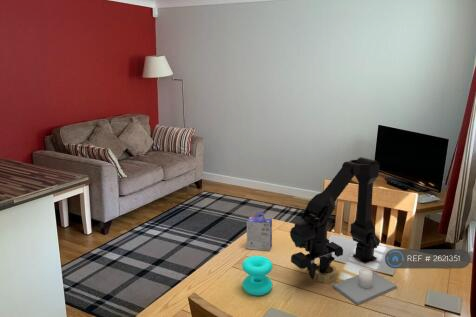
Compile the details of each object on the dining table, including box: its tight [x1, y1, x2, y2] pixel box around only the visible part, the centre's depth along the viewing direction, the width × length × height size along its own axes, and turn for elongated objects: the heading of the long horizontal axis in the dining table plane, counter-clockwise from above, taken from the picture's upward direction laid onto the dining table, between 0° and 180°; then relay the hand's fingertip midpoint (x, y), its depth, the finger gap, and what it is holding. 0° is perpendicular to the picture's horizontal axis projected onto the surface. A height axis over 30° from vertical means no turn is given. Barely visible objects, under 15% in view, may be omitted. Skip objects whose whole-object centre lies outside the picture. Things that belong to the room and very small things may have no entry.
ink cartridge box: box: [246, 212, 273, 252], centre depth 154 cm, size 10×6×14 cm, turn 78°
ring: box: [313, 262, 338, 284], centre depth 133 cm, size 8×8×3 cm
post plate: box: [332, 267, 398, 306], centre depth 126 cm, size 18×11×6 cm, turn 119°
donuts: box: [241, 255, 274, 296], centre depth 126 cm, size 10×10×10 cm
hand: (316, 276), depth 132 cm, fingers open, 4 cm apart
